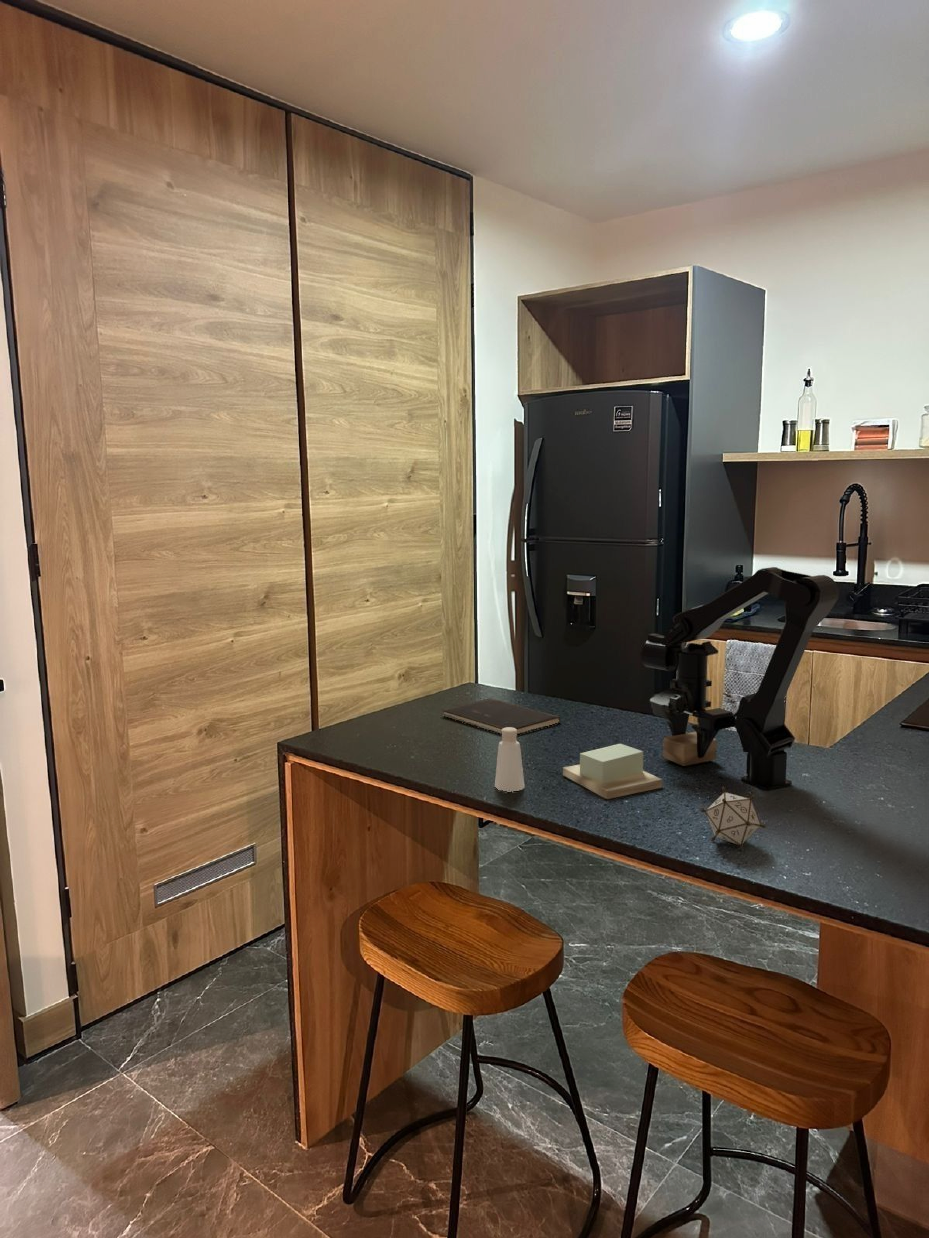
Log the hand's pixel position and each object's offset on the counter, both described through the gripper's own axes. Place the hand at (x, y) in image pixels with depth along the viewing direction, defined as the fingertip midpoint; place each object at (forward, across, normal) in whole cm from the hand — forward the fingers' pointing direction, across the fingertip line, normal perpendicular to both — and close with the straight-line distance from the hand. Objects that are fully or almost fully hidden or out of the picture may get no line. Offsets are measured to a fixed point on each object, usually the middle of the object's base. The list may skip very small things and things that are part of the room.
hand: (689, 753), depth 170 cm
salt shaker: (+2, -4, -38) cm, 38 cm away
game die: (+2, +33, -20) cm, 39 cm away
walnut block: (+1, 0, 0) cm, 1 cm away
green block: (0, +2, -20) cm, 20 cm away
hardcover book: (+2, -44, -18) cm, 48 cm away
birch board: (+2, +2, -20) cm, 20 cm away
